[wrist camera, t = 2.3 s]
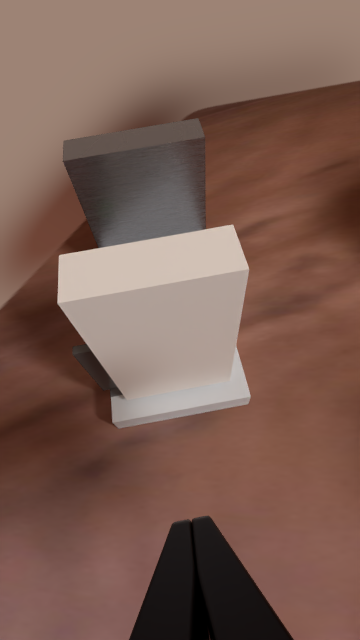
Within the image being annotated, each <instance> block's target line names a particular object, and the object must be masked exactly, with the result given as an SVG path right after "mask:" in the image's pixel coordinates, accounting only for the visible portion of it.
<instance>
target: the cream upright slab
mask: <svg viewBox="0 0 360 640" xmlns="http://www.w3.org/2000/svg"><path fill="white" fill-rule="evenodd" d="M248 273H249V267H248V265H247V262H246V259H245V256H244V254H243V251H242V248H241V245H240V242H239V240H238V237H237V234H236V231H235V229H234V226H233V225H228V226H223V227H217V228H211V229H205V230H200V231H194V232H188V233H183V234H177V235H171V236H166V237H160V238H154V239H149V240H143V241H137V242H131V243H126V244H120V245H114V246H109V247H103V248H97V249H92V250H86V251H80V252H75V253H69V254H63V255H59V274H58V302H57V304H58V305H59V306H60V308H61V309H62V310H63V312H64V313H65V315H66V316H67V317H68V319H69V320H70V322H71V323H72V324H73V326H74V327H75V329H76V330H77V331H78V333H79V334H80V336H81V337H82V338H83V340H84V341H85V342H86V344H84V345H79V346H74V347H73V356H74V357H75V358H76V359H77V360H78V361H79V363H80V364H81V365H82V366H83V367H84V368H85V370H86V371H87V372H88V373H89V374H90V375H91V377H92V378H93V379H94V380H95V381H96V382H97V384H98V385H99V386H100V387H101V388H102V389H103V390H109V389H114V388H119V390H120V391H121V393H122V394H123V395H124V397H125V398H126V400H131V399H136V398H141V397H147V396H152V395H157V394H163V393H168V392H173V391H179V390H184V389H190V388H195V387H200V386H206V385H211V384H216V383H222V382H227V381H230V377H231V371H232V365H233V359H234V354H235V348H236V342H237V336H238V331H239V325H240V319H241V313H242V307H243V302H244V296H245V290H246V284H247V279H248Z"/></svg>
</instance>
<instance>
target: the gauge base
mask: <svg viewBox="0 0 360 640" xmlns="http://www.w3.org/2000/svg"><path fill="white" fill-rule="evenodd" d="M110 396H111V406H112V423H113V424H114V425H115V426H116V427H118V428H124V427H130V426H135V425H140V424H145V423H151V422H156V421H161V420H167V419H172V418H177V417H182V416H188V415H193V414H198V413H204V412H209V411H214V410H219V409H225V408H230V407H235V406H241V405H246V404H248V403H249V400H250V397H251V396H250V392H249V389H248V385H247V382H246V378H245V375H244V371H243V368H242V364H241V361H240V358H239V354H238V351H237V347H236V348H235V354H234V359H233V365H232V371H231V377H230V381H227V382H222V383H216V384H211V385H206V386H200V387H195V388H190V389H184V390H179V391H173V392H168V393H163V394H157V395H152V396H147V397H141V398H136V399H131V400H126V398H125V397H124V395H123V394H122V393H121V391H120V390H119V388H114V389H110Z"/></svg>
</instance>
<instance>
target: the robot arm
mask: <svg viewBox="0 0 360 640" xmlns="http://www.w3.org/2000/svg"><path fill="white" fill-rule="evenodd" d="M209 635H210V636H209ZM129 640H294V639H293V638H292V636H291V635H290V634H289V632H288V631H287V629H286V628H285V626H284V625H283V623H282V622H281V620H280V619H279V617H278V616H277V614H276V613H275V611H274V610H273V608H272V607H271V606H270V604H269V603H268V601H267V600H266V598H265V597H264V595H263V594H262V592H261V591H260V589H259V588H258V586H257V585H256V583H255V582H254V580H253V579H252V578H251V576H250V575H249V573H248V572H247V570H246V569H245V567H244V566H243V564H242V563H241V561H240V560H239V558H238V557H237V555H236V554H235V553H234V551H233V550H232V548H231V547H230V545H229V544H228V542H227V541H226V539H225V538H224V536H223V535H222V533H221V532H220V530H219V529H218V527H217V526H216V525H215V523H214V522H213V520H212V519H211V518H210V517H209V516H203V517H198V518H194V519H192V523H191V521H190V520H182V521H177V522H174V523H173V524H172V526H171V528H170V531H169V534H168V536H167V539H166V542H165V544H164V547H163V550H162V552H161V555H160V558H159V560H158V563H157V566H156V569H155V571H154V574H153V577H152V579H151V582H150V585H149V587H148V590H147V593H146V595H145V598H144V601H143V604H142V606H141V609H140V612H139V614H138V617H137V620H136V622H135V625H134V628H133V630H132V633H131V636H130V639H129Z"/></svg>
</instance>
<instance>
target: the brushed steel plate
mask: <svg viewBox="0 0 360 640" xmlns="http://www.w3.org/2000/svg"><path fill="white" fill-rule="evenodd" d="M63 162H64V165H65V167H66V170H67V172H68V175H69V177H70V179H71V182H72V184H73V187H74V189H75V192H76V194H77V196H78V199H79V201H80V204H81V206H82V208H83V211H84V213H85V216H86V218H87V221H88V223H89V226H90V228H91V231H92V233H93V235H94V238H95V240H96V243H97V245H98V248H103V247H109V246H114V245H120V244H126V243H131V242H137V241H143V240H149V239H154V238H160V237H166V236H171V235H177V234H183V233H188V232H194V231H200V230H205V229H206V214H205V135H204V133H203V130H202V127H201V125H200V122H199V119H198V118H197V119H191V120H185V121H179V122H173V123H167V124H161V125H155V126H149V127H143V128H137V129H132V130H125V131H120V132H114V133H107V134H101V135H96V136H90V137H84V138H78V139H72V140H66V141H64V145H63Z"/></svg>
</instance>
